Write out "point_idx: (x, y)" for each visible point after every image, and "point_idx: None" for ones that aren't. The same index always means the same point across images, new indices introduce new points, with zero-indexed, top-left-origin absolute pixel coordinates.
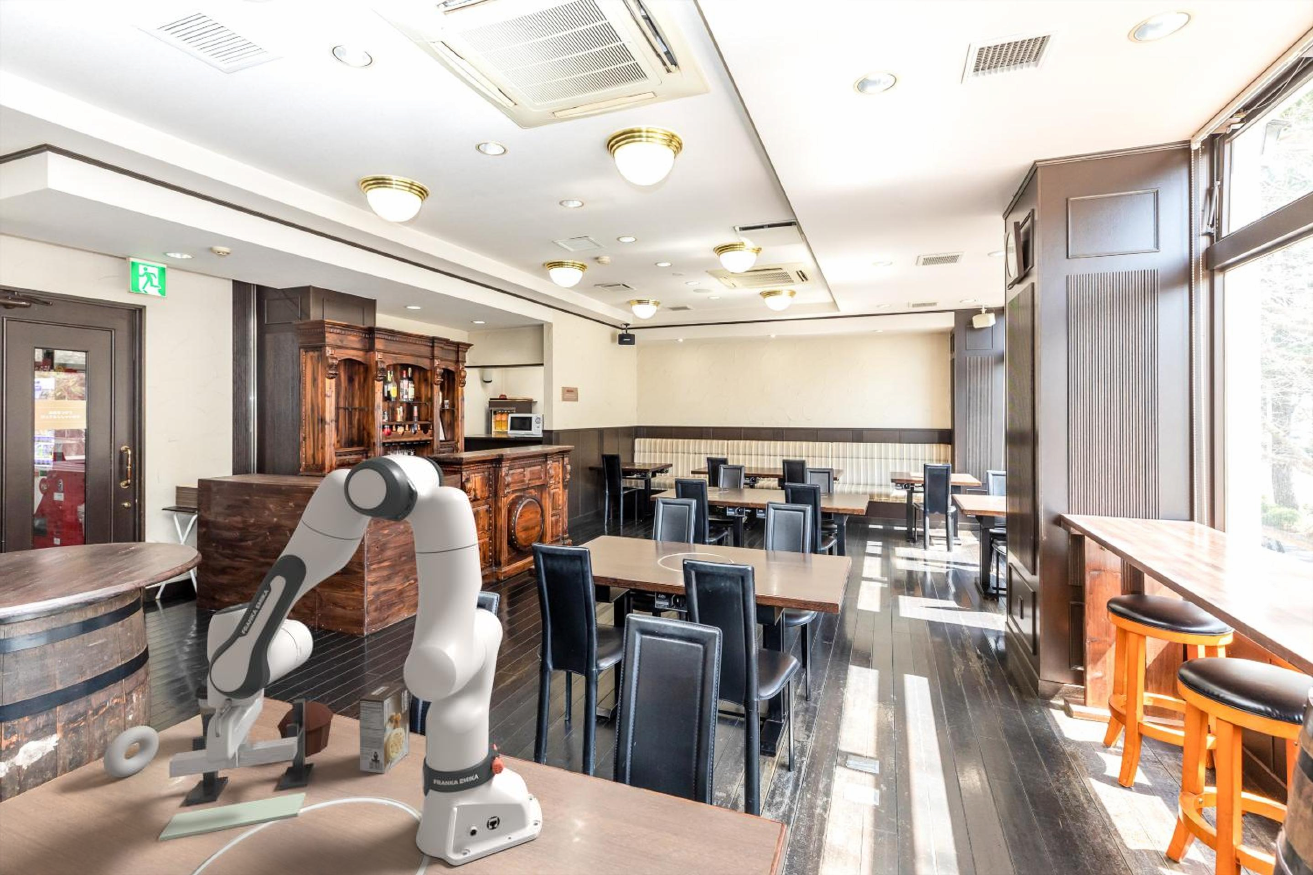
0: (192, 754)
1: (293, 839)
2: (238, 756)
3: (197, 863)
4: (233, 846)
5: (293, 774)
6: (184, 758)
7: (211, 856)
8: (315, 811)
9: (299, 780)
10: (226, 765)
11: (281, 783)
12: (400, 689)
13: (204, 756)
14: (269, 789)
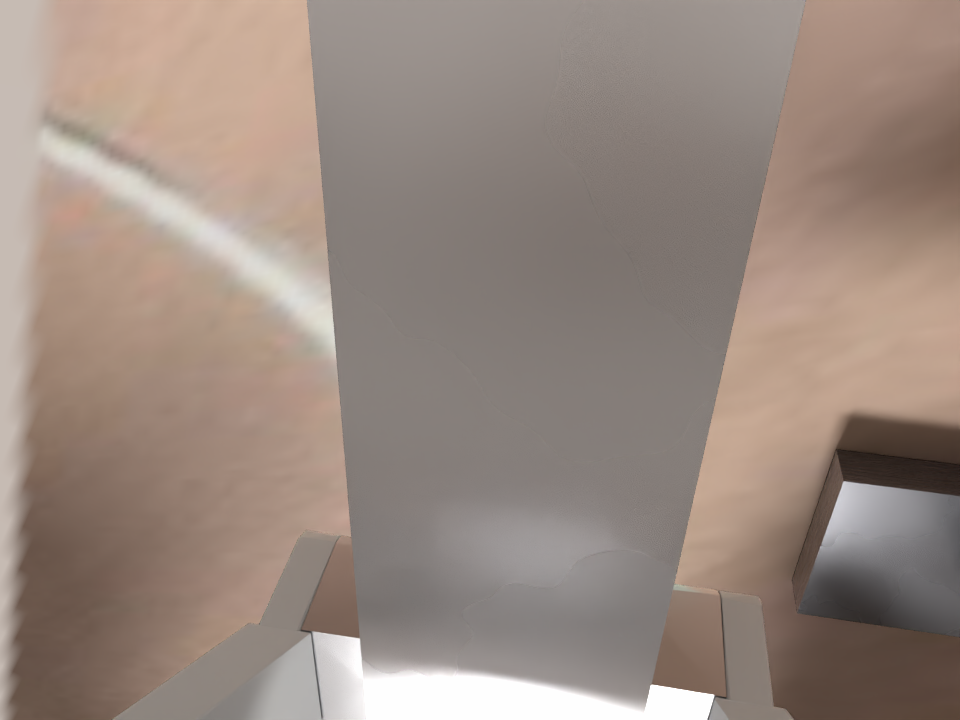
0: (563, 169)
1: (215, 526)
2: (353, 718)
3: (62, 92)
4: (210, 269)
5: (957, 551)
6: (387, 29)
7: (125, 162)
8: None
9: (827, 578)
10: (286, 568)
11: (858, 490)
12: None
13: (357, 418)
14: (904, 391)
